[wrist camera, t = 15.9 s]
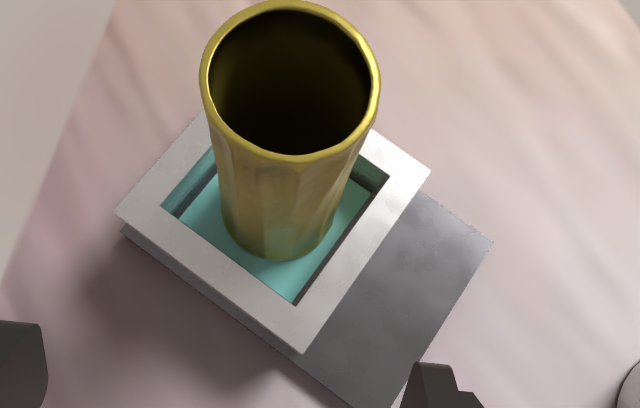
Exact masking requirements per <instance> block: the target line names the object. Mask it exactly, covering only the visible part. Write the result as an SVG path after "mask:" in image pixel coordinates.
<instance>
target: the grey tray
mask: <svg viewBox="0 0 640 408" xmlns="http://www.w3.org/2000/svg"><path fill="white" fill-rule="evenodd" d="M430 172H431V170H429V169H428V168H426V167H425V166H424V165H422V164H421V163H419V162H418V161H416V160H415V159H414V158H412V157H411V156H409V155H408V154H406V153H405V152H404V151H402V150H401V149H399V148H398V147H397V146H395V145H394V144H392V143H391V142H389V141H388V140H387V139H385V138H384V137H382V136H381V135H380V134H378V133H377V132H375V131H374V130H372V129H370V131H369V133H368V135H367V137H366V140H365V142H364V144H363V146H362V148H361V150H360V152H359V154H358V157H357V159H356V161H355V163H354V165H353V167H352V170H351V172H350V175H349V177H348V178H350V179H351V180H353V181H354V182H355V183H357V184H358V185H360V186H361V187H362V188H364V189H365V190H367V191H368V192H369V193H371V195H370V196H369V197H368V199H367V200H366V202H365V203H364V204H363V206H362V207H361V208H360V210H359V211H358V213H357V214H356V215H355V217H354V218H353V219H352V221H351V222H350V224H349V225H348V226H347V228H346V229H345V230H344V232H343V233H342V235H341V236H340V237H339V239H338V240H337V241H336V243H335V244H334V246H333V247H332V248H331V250H330V251H329V252H328V254H327V255H326V257H325V258H324V259H323V261H322V262H321V263H320V265H319V266H318V268H317V269H316V270H315V272H314V273H313V274H312V276H311V277H310V279H309V280H308V281H307V283H306V284H305V285H304V287H303V288H302V290H301V291H300V292H299V294H298V295H297V296H296V298H295V299H294V301H293V302H292V303H289V302H288V301H287V300H285V299H284V298H283V297H281V296H280V295H279V294H277V293H276V292H275V291H273V290H272V289H271V288H269V287H268V286H267V285H265V284H264V283H263V282H261V281H260V280H259V279H257V278H256V277H255V276H253V275H252V274H251V273H249V272H248V271H246V270H245V269H244V268H242V267H241V266H240V265H238V264H237V263H236V262H234V261H233V260H232V259H230V258H229V257H228V256H226V255H225V254H224V253H222V252H221V251H220V250H218V249H217V248H216V247H214V246H213V245H212V244H210V243H209V242H208V241H206V240H205V239H204V238H202V237H201V236H200V235H198V234H197V233H195V232H194V231H193V230H191V229H190V228H189V227H187V226H186V225H185V224H183V223H182V222H181V221H180V220H179V218H180V217H181V216H182V214H183V213H184V212H185V211H186V210H187V208H188V207H189V206H190V205H191V204H192V202H193V201H194V200H195V199H196V198H197V196H198V195H199V194H200V193H201V192H202V191H203V189H204V188H205V187H206V186H207V185H208V183H209V182H210V181H211V180H212V179H213V177H214V176H215V175H216V174H217V165H216V161H215V157H214V153H213V148H212V144H211V138H210V131H209V126H208V121H207V118H206V114H205V110H204V109H203V110H202V111H201V113H200V114H199V115H198V116H197V117H196V118H195V119H194V120H193V122H192V123H191V124H190V125H189V126H188V127H187V128H186V130H185V131H184V132H183V133H182V134H181V135H180V136H179V137H178V139H177V140H176V141H175V142H174V143H173V144H172V145H171V146H170V148H169V149H168V150H167V151H166V152H165V153H164V154H163V155H162V157H161V158H160V159H159V160H158V161H157V162H156V163H155V164H154V166H153V167H152V168H151V169H150V170H149V171H148V172H147V174H146V175H145V176H144V177H143V178H142V179H141V180H140V181H139V183H138V184H137V185H136V186H135V187H134V188H133V189H132V190H131V192H130V193H129V194H128V195H127V196H126V197H125V198H124V199H123V201H122V202H121V203H120V204H119V205H118V206H117V207H116V209H115V210H114V211H113V212H114V213H115V214H116V215H117V216H118V217H120V218H121V219H122V220H123V221H124V222H125V223H126V225H125V226H124V227H123V228H122V229H121V231H120V232H121V233H122V234H124V235H125V236H126V237H128V238H129V239H130V240H132V241H133V242H134V243H135V244H137V245H138V246H139V247H141V248H142V249H143V250H145V251H146V252H147V253H149V254H150V255H151V256H153V257H154V258H155V259H157V260H158V261H159V262H161V263H162V264H163V265H165V266H166V267H167V268H169V269H170V270H171V271H173V272H174V273H175V274H177V275H178V276H179V277H181V278H182V279H183V280H184V281H186V282H187V283H188V284H190V285H191V286H192V287H194V288H195V289H196V290H198V291H199V292H200V293H202V294H203V295H204V296H206V297H207V298H208V299H210V300H211V301H212V302H214V303H215V304H216V305H218V306H219V307H220V308H222V309H223V310H224V311H226V312H227V313H228V314H230V315H231V316H232V317H233V318H235V319H236V320H237V321H239V322H240V323H241V324H243V325H244V326H245V327H247V328H248V329H249V330H251V331H252V332H253V333H255V334H256V335H257V336H259V337H260V338H261V339H263V340H264V341H265V342H267V343H268V344H269V345H271V346H272V347H273V348H275V349H276V350H277V351H279V352H280V353H281V354H282V355H284V356H285V357H286V358H288V359H289V360H290V361H292V362H293V363H294V364H296V365H297V366H298V367H300V368H301V369H302V370H304V371H305V372H306V373H308V374H309V375H310V376H312V377H313V378H314V379H316V380H317V381H318V382H320V383H321V384H322V385H324V386H325V387H326V388H328V389H329V390H330V391H331V392H333V393H334V394H335V395H337V396H338V397H339V398H341V399H342V400H343V401H345V402H346V403H347V404H349V405H350V406H351V407H353V408H390V407H391V405H392V404H393V402H394V401H395V399H396V397H397V396H398V394H399V393H400V391H401V389H402V388H403V386H404V385H405V383H406V381H407V380H408V378H409V376H410V373H411V369H412V366H413V364H414V363H415V362H419V361H420V359H421V358H422V356H423V354H424V353H425V351H426V350H427V348H428V346H429V345H430V343H431V342H432V340H433V338H434V337H435V335H436V334H437V332H438V330H439V329H440V327H441V326H442V324H443V322H444V321H445V319H446V318H447V316H448V315H449V313H450V311H451V310H452V308H453V307H454V305H455V303H456V302H457V300H458V299H459V297H460V295H461V294H462V292H463V291H464V289H465V287H466V286H467V284H468V283H469V281H470V279H471V278H472V276H473V275H474V273H475V271H476V270H477V268H478V267H479V265H480V263H481V262H482V260H483V259H484V257H485V256H486V254H487V252H488V251H489V249H490V248H491V246H492V244H493V243H494V242H493V241H491V240H490V239H489V238H487V237H486V236H484V235H483V234H482V233H480V232H479V231H477V230H476V229H475V228H473V227H472V226H470V225H469V224H467V223H466V222H465V221H463V220H462V219H460V218H459V217H458V216H456V215H455V214H453V213H452V212H451V211H449V210H448V209H446V208H445V207H444V206H442V205H441V204H439V203H438V202H436V201H435V200H434V199H432V198H431V197H429V196H428V195H427V194H425V193H424V192H422V191H421V190H420V189H419V188H420V186H421V185H422V183H423V182H424V180H425V179H426V178H427V176H428V175H429V173H430Z"/></svg>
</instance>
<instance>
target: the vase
mask: <svg viewBox="0 0 640 408" xmlns="http://www.w3.org/2000/svg"><path fill="white" fill-rule="evenodd" d="M199 87H200V92H201V97H202V101H203V106H204V110H205V114H206V118H207V121H208V126H209V131H210V138H211V144H212V148H213V153H214V157H215V161H216V165H217V173H218V183H219V190H220V196H221V212H222V218H223V222H224V224H225V227H226V229H227V231H228V233H229V234H230V236H231V237H232V238H233V240H234V241H235V242H236V244H237V245H239V246H240V247H241V248H242V249H244V250H245V251H247V252H249V253H251V254H253V255H255V256H257V257H259V258H262V259H266V260H272V261H287V260H292V259H295V258H298V257H301V256H303V255H305V254H307V253H309V252H310V251H312V250H313V249H315V248H316V247H317V246H318V245H319V244H320V243H321V242H322V240H323V239H324V237H325V236H326V234H327V233H328V231H329V230H330V228H331V227H332V225H333V220H334V215H335V213H336V210H337V207H338V204H339V201H340V198H341V196H342V193H343V190H344V188H345V185H346V182H347V180H348V177H349V175H350V172H351V170H352V167H353V165H354V163H355V161H356V159H357V157H358V154H359V152H360V150H361V148H362V146H363V144H364V142H365V140H366V137H367V135H368V133H369V131H370V129H371V127H372V125H373V123H374V122H375V119H376V115H377V111H378V104H379V98H380V91H381V75H380V70H379V67H378V64H377V61H376V59H375V56H374V54H373V52H372V50H371V48H370V46H369V44H368V42H367V40H366V39H365V38H364V37H363V36H362V34H361V33H360V32H359V31H358V30H357V29H356V28H355V27H354V26H353V25H352V24H351V23H350V22H349V21H347V20H346V19H344V18H343V17H342V16H340V15H339V14H337V13H336V12H334V11H332V10H330V9H328V8H326V7H323V6H321V5H318V4H315V3H311V2H307V1H302V0H268V1H264V2H261V3H258V4H255V5H253V6H250V7H248V8H246V9H244V10H242V11H240V12H238V13H237V14H235V15H234V16H232V17H231V18H230V19H228V20H227V21H226V22H225V23H224V24H223V25H222V26H221V27H220V28H219V29H218V30H217V31H216V33H215V34H214V35H213V36H212V38H211V39H210V40H209V42H208V44H207V45H206V47H205V50H204V53H203V56H202V59H201V63H200V69H199Z"/></svg>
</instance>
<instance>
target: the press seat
mask: <svg viewBox="0 0 640 408" xmlns="http://www.w3.org/2000/svg"><path fill="white" fill-rule="evenodd" d="M370 195H371V193H369V192H368V191H367V190H365V189H364V188H362V187H361V186H360V185H358V184H357V183H355V182H354V181H353V180H351V179H350V178H348V180H347V182H346V185H345V188H344V190H343V193H342V196H341V198H340V201H339V204H338V207H337V210H336V213H335V215H334V220H333V225H332V227H331V228H330V230H329V231H328V233H327V234H326V236H325V237H324V239H323V240H322V242H321V243H320V244H319V245H318V246H317V247H316V248H315V249H313V250H312V251H310V252H309V253H307V254H305V255H303V256H301V257H298V258H295V259H292V260H287V261H272V260H266V259H262V258H259V257H257V256H255V255H253V254H251V253H249V252H247V251H245V250H244V249H242V248H241V247H240V246H239V245H237V244H236V242H235V241H234V240H233V238H232V237H231V236H230V234H229V233H228V231H227V229H226V227H225V224H224V222H223V218H222V212H221V196H220V190H219V183H218V173H217V174H216V175H215V176H214V177H213V179H212V180H211V181H210V182H209V183H208V185H207V186H206V187H205V188H204V189H203V191H202V192H201V193H200V194H199V195H198V196H197V198H196V199H195V200H194V201H193V202H192V204H191V205H190V206H189V207H188V208H187V210H186V211H185V212H184V213H183V214H182V216H181V217H180V218H179V220H180V221H181V222H182V223H183V224H185V225H186V226H187V227H189V228H190V229H191V230H193V231H194V232H195V233H197V234H198V235H200V236H201V237H202V238H204V239H205V240H206V241H208V242H209V243H210V244H212V245H213V246H214V247H216V248H217V249H218V250H220V251H221V252H222V253H224V254H225V255H226V256H228V257H229V258H230V259H232V260H233V261H234V262H236V263H237V264H238V265H240V266H241V267H242V268H244V269H245V270H246V271H248V272H249V273H251V274H252V275H253V276H255V277H256V278H257V279H259V280H260V281H261V282H263V283H264V284H265V285H267V286H268V287H269V288H271V289H272V290H273V291H275V292H276V293H277V294H279V295H280V296H281V297H283V298H284V299H285V300H287V301H288V302H289V303H292V302H293V301H294V299H295V298H296V296H297V295H298V294H299V292H300V291H301V290H302V288H303V287H304V285H305V284H306V283H307V281H308V280H309V279H310V277H311V276H312V274H313V273H314V272H315V270H316V269H317V268H318V266H319V265H320V263H321V262H322V261H323V259H324V258H325V257H326V255H327V254H328V252H329V251H330V250H331V248H332V247H333V246H334V244H335V243H336V241H337V240H338V239H339V237H340V236H341V235H342V233H343V232H344V230H345V229H346V228H347V226H348V225H349V224H350V222H351V221H352V219H353V218H354V217H355V215H356V214H357V213H358V211H359V210H360V208H361V207H362V206H363V204H364V203H365V202H366V200H367V199H368V197H369V196H370Z"/></svg>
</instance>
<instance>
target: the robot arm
mask: <svg viewBox="0 0 640 408" xmlns="http://www.w3.org/2000/svg"><path fill="white" fill-rule="evenodd" d="M47 384H48V371H47V365H46V358H45V352H44V346H43V339H42V333H41V328H40V326H39V325H38V324H33V323H23V322H13V321H4V320H0V408H40V406H41V404H42V402H43V399H44V397H45V393H46V390H47ZM400 408H484V407H483V405H482V404H481V403H480V401H479V400H478V399H477V397H476V396H475V395H474V393H473V392H465V391H458V388H457V384H456V381H455V377H454V374H453V370H452V368H451V367H450V366H449V365H444V364H435V363H425V362H415V363H414V364H413V366H412V369H411V373H410V376H409V379H408V382H407V385H406V389H405V392H404V395H403V398H402V401H401V405H400ZM617 408H640V362H639V363H638V364H637V365H636V366H635V367H634V368H633V369H632V371H631V372H630V374H629V375H628V377H627V378H626V380H625V381H624V384H623V386H622V389H621V392H620V394H619V397H618V403H617Z"/></svg>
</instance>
